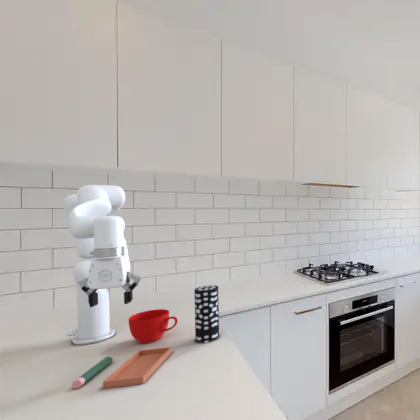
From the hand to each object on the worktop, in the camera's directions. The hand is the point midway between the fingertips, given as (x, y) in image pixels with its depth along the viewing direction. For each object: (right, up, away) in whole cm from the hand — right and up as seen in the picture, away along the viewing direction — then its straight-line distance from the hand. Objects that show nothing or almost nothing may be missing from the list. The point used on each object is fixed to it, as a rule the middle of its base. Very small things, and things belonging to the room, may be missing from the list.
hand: (111, 304), depth 103 cm
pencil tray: (+12, -20, -3) cm, 24 cm away
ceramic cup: (+1, -20, +19) cm, 28 cm away
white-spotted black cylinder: (+22, -20, +20) cm, 35 cm away
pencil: (0, -20, -6) cm, 21 cm away
